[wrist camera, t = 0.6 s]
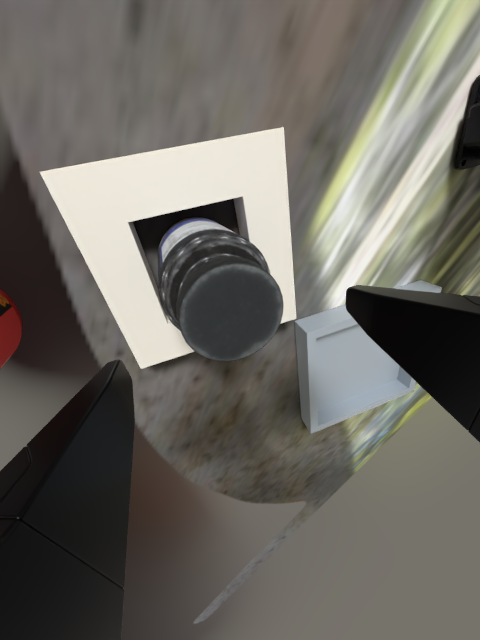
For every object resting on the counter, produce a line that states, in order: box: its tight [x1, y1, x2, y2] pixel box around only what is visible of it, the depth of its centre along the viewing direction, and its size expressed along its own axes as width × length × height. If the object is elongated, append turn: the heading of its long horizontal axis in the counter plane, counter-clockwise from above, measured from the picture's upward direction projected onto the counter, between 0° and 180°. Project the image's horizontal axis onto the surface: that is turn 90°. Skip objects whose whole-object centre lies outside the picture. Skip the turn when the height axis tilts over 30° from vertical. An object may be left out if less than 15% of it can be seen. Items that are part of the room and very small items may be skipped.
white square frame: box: [40, 127, 296, 369], centre depth 19 cm, size 14×14×2 cm
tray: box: [295, 280, 442, 434], centre depth 30 cm, size 16×16×2 cm
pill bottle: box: [158, 217, 284, 361], centre depth 15 cm, size 6×6×11 cm
